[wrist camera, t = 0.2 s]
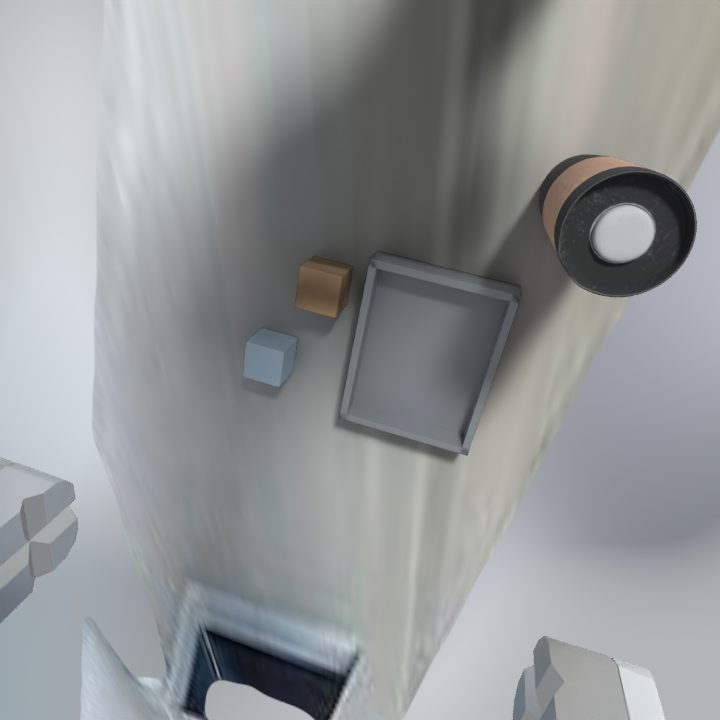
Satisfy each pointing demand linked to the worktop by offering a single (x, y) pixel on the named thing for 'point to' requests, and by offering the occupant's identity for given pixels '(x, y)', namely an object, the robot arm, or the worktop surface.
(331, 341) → the worktop surface
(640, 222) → the travel mug
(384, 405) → the charcoal tray
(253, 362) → the slate block
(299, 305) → the walnut block
